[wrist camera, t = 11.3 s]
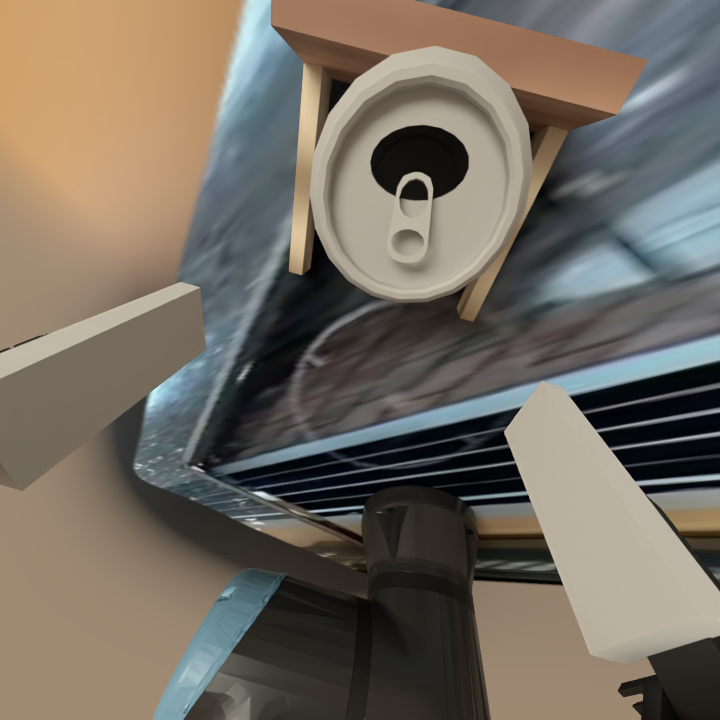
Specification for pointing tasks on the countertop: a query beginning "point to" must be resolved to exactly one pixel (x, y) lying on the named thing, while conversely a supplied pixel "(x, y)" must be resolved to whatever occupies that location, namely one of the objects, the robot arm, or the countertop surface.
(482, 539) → the countertop surface
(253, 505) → the countertop surface
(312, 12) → the wooden bracket
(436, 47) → the can
